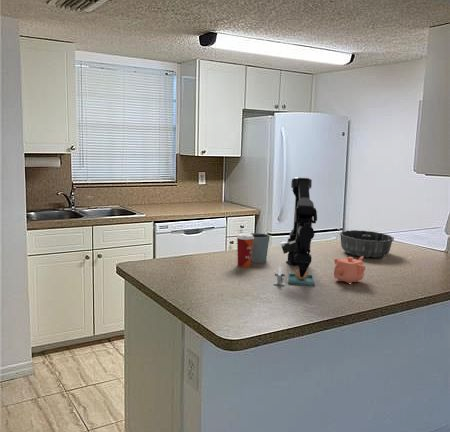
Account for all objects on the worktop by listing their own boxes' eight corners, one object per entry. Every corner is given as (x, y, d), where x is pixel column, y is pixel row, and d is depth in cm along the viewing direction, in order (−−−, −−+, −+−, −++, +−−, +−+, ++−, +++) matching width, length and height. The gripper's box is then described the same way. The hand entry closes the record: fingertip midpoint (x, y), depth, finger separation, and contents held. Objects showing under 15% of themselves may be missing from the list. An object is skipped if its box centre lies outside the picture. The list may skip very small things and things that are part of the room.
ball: (302, 277, 195) (302, 265, 194) (309, 280, 191) (310, 268, 190) (292, 278, 193) (292, 266, 192) (299, 282, 188) (300, 269, 188)
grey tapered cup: (243, 261, 220) (244, 235, 218) (250, 256, 229) (251, 232, 227) (264, 264, 216) (265, 238, 214) (270, 259, 226) (272, 234, 224)
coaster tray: (288, 276, 198) (288, 273, 197) (313, 278, 196) (313, 274, 196) (288, 283, 188) (288, 280, 187) (314, 285, 186) (314, 282, 186)
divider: (275, 273, 201) (275, 264, 200) (284, 274, 200) (285, 265, 200) (273, 285, 185) (274, 275, 185) (284, 285, 185) (284, 275, 184)
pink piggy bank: (364, 288, 186) (366, 262, 184) (333, 285, 188) (335, 260, 186) (361, 278, 199) (363, 254, 198) (332, 275, 202) (334, 252, 200)
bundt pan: (397, 253, 247) (399, 234, 246) (384, 263, 225) (386, 243, 224) (348, 246, 261) (349, 228, 260) (331, 254, 239) (332, 235, 238)
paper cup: (251, 268, 208) (252, 237, 206) (234, 267, 209) (235, 235, 207) (253, 264, 215) (255, 233, 213) (237, 262, 217) (238, 232, 215)
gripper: (283, 230, 199) (281, 266, 202) (282, 239, 181) (280, 279, 183) (310, 231, 198) (308, 268, 200) (312, 241, 179) (310, 281, 182)
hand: (301, 273), depth 191 cm, fingers open, 9 cm apart
